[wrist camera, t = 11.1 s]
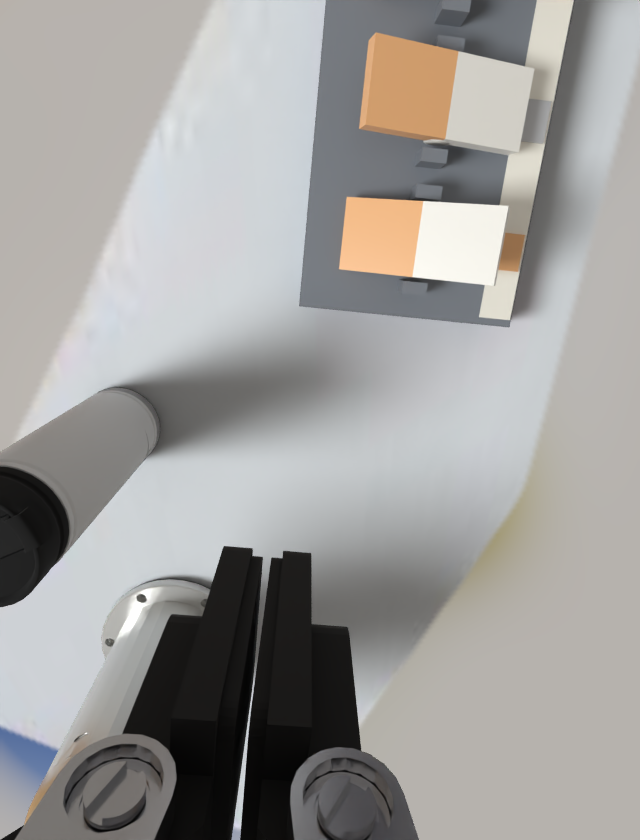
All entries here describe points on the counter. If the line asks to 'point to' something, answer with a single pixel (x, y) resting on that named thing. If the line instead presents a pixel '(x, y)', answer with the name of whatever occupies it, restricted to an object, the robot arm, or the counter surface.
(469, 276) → the switch
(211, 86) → the counter surface
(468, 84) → the switch
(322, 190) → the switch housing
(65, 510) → the travel mug
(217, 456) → the counter surface
